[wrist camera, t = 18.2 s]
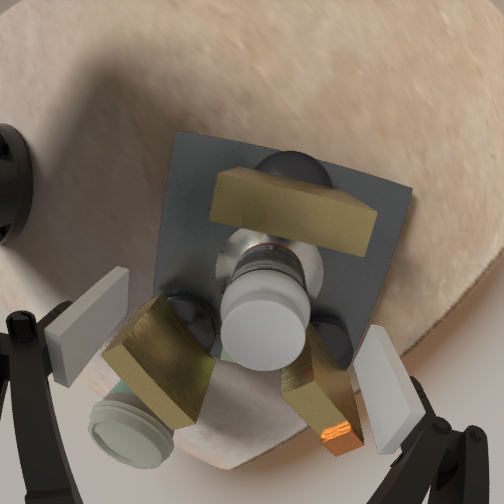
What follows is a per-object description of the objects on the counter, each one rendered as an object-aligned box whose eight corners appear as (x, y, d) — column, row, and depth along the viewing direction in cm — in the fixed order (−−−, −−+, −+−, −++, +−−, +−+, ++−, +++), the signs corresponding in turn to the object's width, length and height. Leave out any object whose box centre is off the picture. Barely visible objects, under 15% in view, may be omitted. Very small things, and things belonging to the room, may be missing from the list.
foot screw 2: (231, 218, 26) (202, 258, 16) (248, 141, 24) (226, 132, 14) (327, 241, 25) (352, 292, 16) (347, 165, 23) (388, 173, 14)
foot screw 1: (137, 303, 29) (85, 363, 20) (186, 273, 28) (141, 332, 18) (185, 364, 31) (154, 434, 21) (236, 341, 29) (217, 417, 20)
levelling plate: (156, 328, 32) (145, 344, 29) (183, 132, 26) (170, 130, 23) (338, 369, 32) (342, 388, 29) (404, 185, 25) (418, 190, 22)
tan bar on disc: (264, 330, 29) (254, 413, 18) (324, 295, 27) (344, 372, 17) (308, 383, 30) (313, 466, 20) (363, 355, 28) (389, 434, 18)
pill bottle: (286, 314, 27) (286, 390, 18) (225, 289, 27) (197, 358, 18) (315, 256, 25) (333, 316, 16) (250, 229, 25) (231, 275, 16)
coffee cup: (120, 340, 33) (68, 408, 22) (187, 340, 32) (148, 421, 21) (142, 395, 36) (105, 463, 24) (204, 398, 35) (180, 477, 23)
